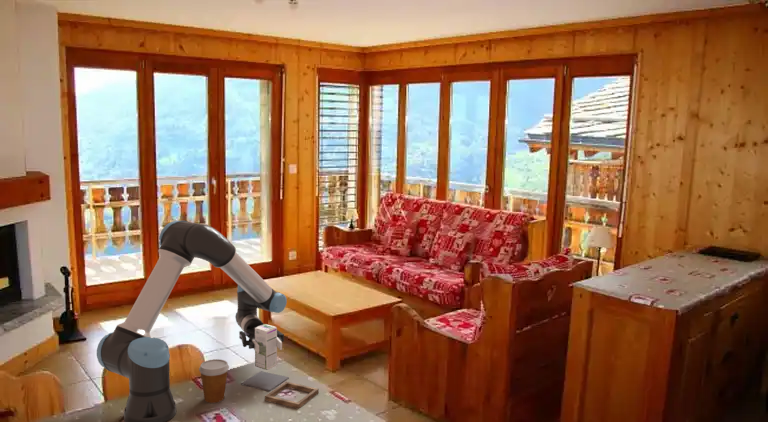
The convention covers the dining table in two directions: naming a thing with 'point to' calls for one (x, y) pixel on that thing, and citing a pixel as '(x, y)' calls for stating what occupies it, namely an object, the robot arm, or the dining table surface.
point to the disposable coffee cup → (214, 379)
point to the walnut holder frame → (273, 399)
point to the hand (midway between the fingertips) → (269, 347)
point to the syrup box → (266, 346)
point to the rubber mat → (265, 381)
